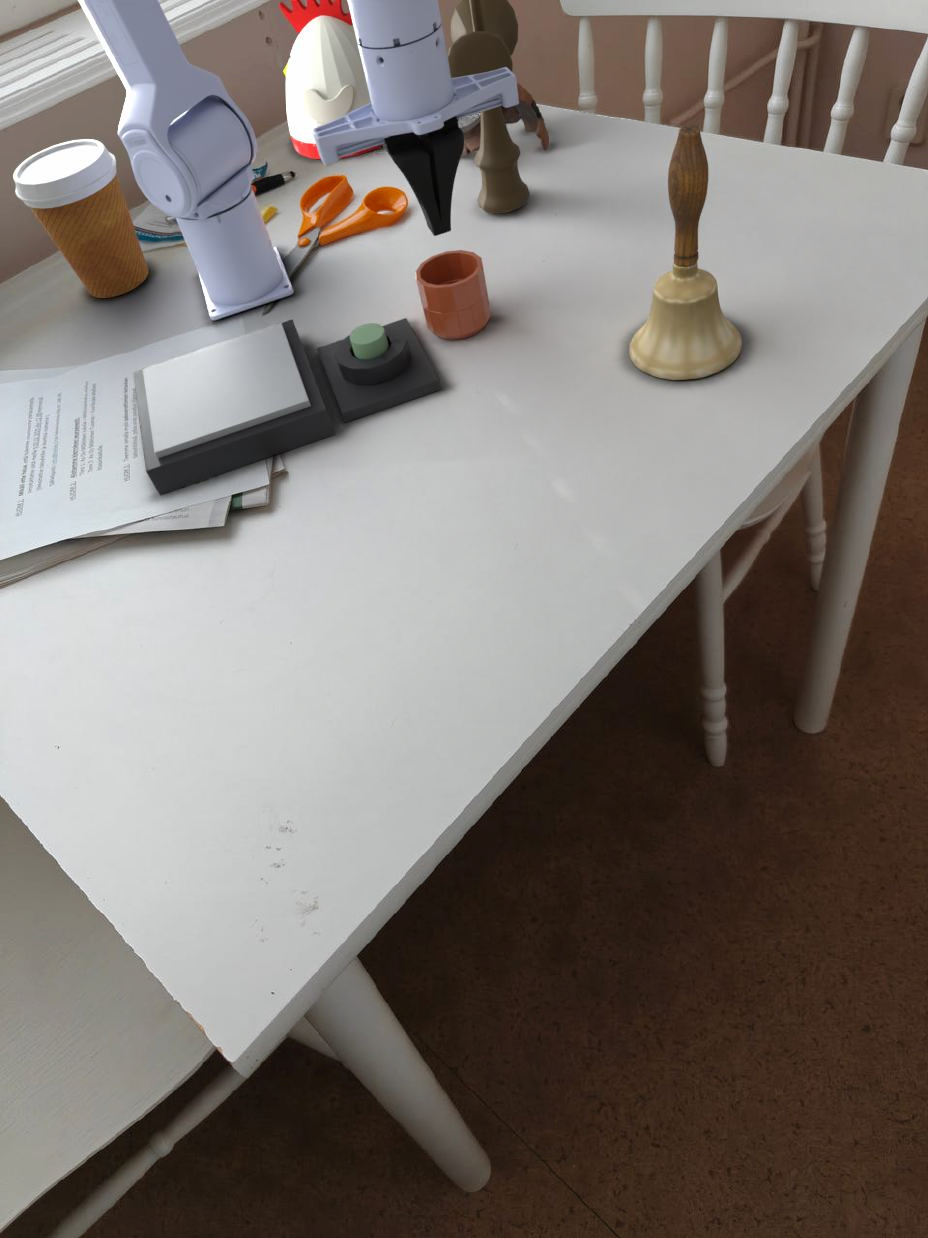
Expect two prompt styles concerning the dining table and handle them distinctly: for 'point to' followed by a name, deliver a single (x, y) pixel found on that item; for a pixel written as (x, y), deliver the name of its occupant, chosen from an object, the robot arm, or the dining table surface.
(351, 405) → the pad
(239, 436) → the scale
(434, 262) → the terracotta flower pot
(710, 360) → the hand bell
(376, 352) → the tare button
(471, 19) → the kendama
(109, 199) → the disposable coffee cup
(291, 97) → the kitchen timer
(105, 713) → the dining table surface
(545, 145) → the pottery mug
